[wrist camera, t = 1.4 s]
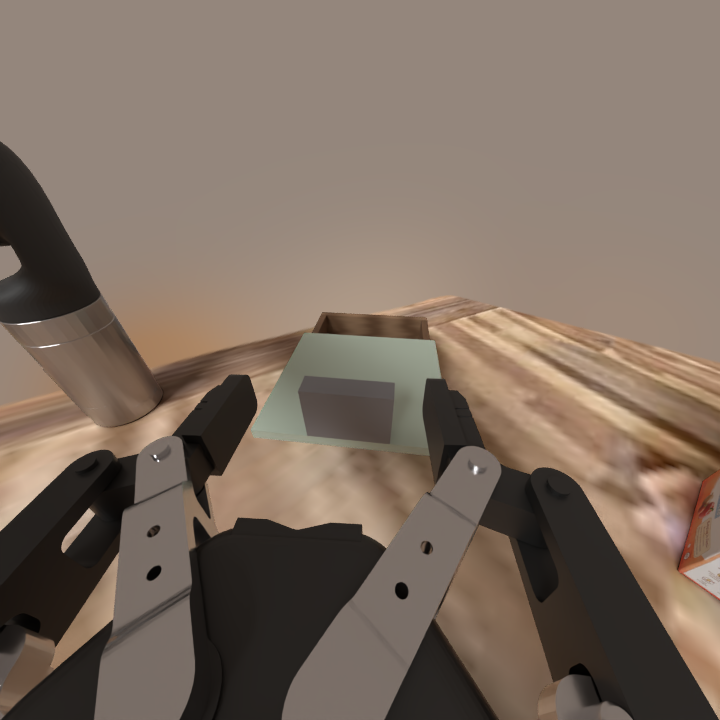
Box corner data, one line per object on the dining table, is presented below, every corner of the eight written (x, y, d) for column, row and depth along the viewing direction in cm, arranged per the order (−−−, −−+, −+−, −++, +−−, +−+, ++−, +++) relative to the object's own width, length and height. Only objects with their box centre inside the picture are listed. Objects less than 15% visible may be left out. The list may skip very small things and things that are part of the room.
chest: (299, 415, 40) (290, 375, 36) (326, 347, 55) (322, 312, 50) (427, 427, 38) (436, 386, 34) (420, 353, 53) (426, 317, 48)
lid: (253, 437, 27) (232, 385, 23) (305, 339, 42) (298, 295, 37) (450, 458, 25) (469, 405, 21) (433, 347, 40) (442, 302, 35)
